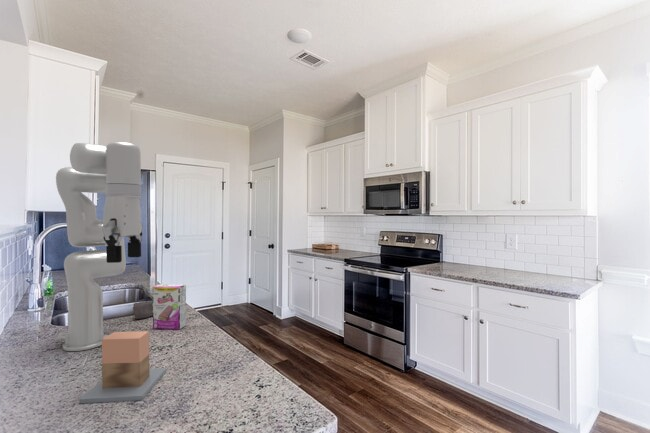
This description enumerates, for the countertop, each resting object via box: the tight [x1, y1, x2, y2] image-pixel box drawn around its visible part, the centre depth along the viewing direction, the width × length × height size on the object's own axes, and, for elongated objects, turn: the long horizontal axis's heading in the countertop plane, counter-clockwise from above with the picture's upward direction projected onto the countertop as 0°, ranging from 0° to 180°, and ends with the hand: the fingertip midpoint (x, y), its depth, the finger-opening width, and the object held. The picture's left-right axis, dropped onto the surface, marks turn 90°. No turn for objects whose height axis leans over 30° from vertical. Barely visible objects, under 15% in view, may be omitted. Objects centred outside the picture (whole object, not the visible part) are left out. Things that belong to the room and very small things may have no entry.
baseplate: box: [78, 367, 167, 404], centre depth 84 cm, size 14×14×1 cm
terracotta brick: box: [101, 330, 150, 365], centre depth 84 cm, size 9×5×6 cm, turn 93°
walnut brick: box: [101, 354, 150, 388], centre depth 84 cm, size 9×5×6 cm, turn 95°
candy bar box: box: [152, 283, 187, 331], centre depth 127 cm, size 11×5×16 cm, turn 84°
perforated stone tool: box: [132, 299, 153, 320], centre depth 142 cm, size 15×5×7 cm, turn 141°
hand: (124, 259), depth 83 cm, fingers open, 9 cm apart
